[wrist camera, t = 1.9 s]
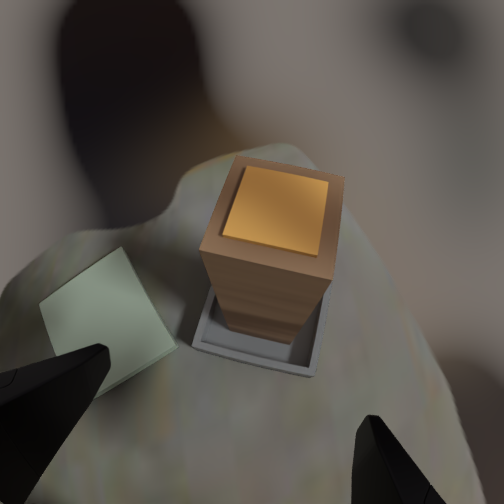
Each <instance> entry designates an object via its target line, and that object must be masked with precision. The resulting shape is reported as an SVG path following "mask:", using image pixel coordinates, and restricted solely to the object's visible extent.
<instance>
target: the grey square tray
mask: <svg viewBox="0 0 504 504" xmlns="http://www.w3.org/2000/svg"><path fill="white" fill-rule="evenodd" d="M333 275H334V274H333ZM332 281H333V280H332ZM331 288H332V282H331V284H330V285H329V287H328V288H327V290H326V291H325V293H324V295H323V296H322V298H321V299H320V301H319V302H318V304H317V305H316V307H315V308H314V310H313V311H312V313H311V314H310V316H309V317H308V319H307V320H306V322H305V323H304V325H303V326H302V328H301V329H300V331H299V332H298V334H297V335H296V337H295V338H294V339H293V341H292V342H291V344H290V345H287V344H282V343H278V342H273V341H269V340H265V339H261V338H256V337H252V336H248V335H244V334H240V333H236V332H232V331H230V330H229V328H228V325H227V323H226V320H225V318H224V315H223V312H222V310H221V307H220V305H219V302H218V300H217V297H216V294H215V292H214V289H213V287H212V284H211V286H210V289H209V292H208V295H207V298H206V302H205V305H204V308H203V311H202V314H201V317H200V320H199V324H198V327H197V330H196V333H195V336H194V339H193V343H192V347H193V348H195V349H196V350H198V351H201V352H204V353H208V354H211V355H215V356H218V357H222V358H226V359H229V360H233V361H237V362H241V363H245V364H249V365H253V366H257V367H261V368H265V369H270V370H274V371H279V372H283V373H288V374H293V375H298V376H303V377H308V378H310V377H314V376H315V372H316V368H317V363H318V358H319V354H320V349H321V344H322V339H323V333H324V328H325V323H326V317H327V312H328V306H329V300H330V294H331Z"/></svg>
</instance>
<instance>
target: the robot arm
mask: <svg viewBox="0 0 504 504" xmlns="http://www.w3.org/2000/svg"><path fill="white" fill-rule="evenodd" d="M110 368H111V358H110V351H109V348H108V347H107V346H105V345H103V344H101V343H96V344H93V345H90V346H87V347H84V348H81V349H78V350H75V351H72V352H68V353H65V354H62V355H59V356H56V357H53V358H49V359H46V360H43V361H40V362H37V363H33V364H30V365H27V366H23V367H20V368H18V369H13V370H10V371H6V372H2V373H0V501H1V502H2V503H3V504H24V503H25V501H26V499H27V498H28V496H29V495H30V493H31V491H32V490H33V488H34V487H35V485H36V484H37V482H38V481H39V479H40V477H41V476H42V474H43V473H44V471H45V469H46V468H47V466H48V465H49V463H50V462H51V460H52V459H53V457H54V456H55V454H56V453H57V451H58V450H59V448H60V447H61V445H62V444H63V443H64V441H65V440H66V438H67V437H68V435H69V434H70V432H71V431H72V429H73V428H74V427H75V425H76V424H77V422H78V421H79V419H80V418H81V416H82V415H83V414H84V412H85V411H86V409H87V408H88V407H89V405H90V404H91V402H92V401H93V399H94V397H95V396H96V394H97V392H98V390H99V388H100V387H101V385H102V383H103V381H104V379H105V377H106V376H107V374H108V372H109V370H110ZM351 504H446V503H445V501H444V500H443V499H442V498H441V497H440V495H439V494H438V493H437V492H436V490H435V489H434V488H433V486H432V485H430V482H429V481H428V480H427V478H426V477H425V476H424V474H423V473H422V472H421V470H420V469H419V468H418V466H417V465H416V464H415V463H414V461H413V460H412V459H411V457H410V456H409V455H408V453H407V452H406V451H405V449H404V448H403V447H402V445H401V444H400V443H399V441H398V440H397V439H396V437H395V436H394V435H393V433H392V432H391V431H390V429H389V428H388V427H387V425H386V424H385V423H384V421H383V420H382V419H381V418H380V417H379V416H377V415H367V416H366V417H365V419H364V420H363V422H362V423H361V425H360V426H359V428H358V430H357V432H356V438H355V448H354V458H353V466H352V494H351Z"/></svg>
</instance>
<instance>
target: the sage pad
mask: <svg viewBox="0 0 504 504" xmlns="http://www.w3.org/2000/svg"><path fill="white" fill-rule="evenodd" d="M39 306H40V310H41V313H42V316H43V320H44V323H45V326H46V329H47V332H48V335H49V338H50V341H51V343H52V346H53V349H54V352H55V354H56V356H59V355H62V354H65V353H68V352H72V351H75V350H78V349H81V348H84V347H87V346H90V345H93V344H96V343H101V344H103V345H105V346H107V347H108V348H109V351H110V358H111V368H110V370H109V372H108V374H107V376H106V377H105V379H104V381H103V383H102V385H101V387H100V388H99V390H98V392H97V394H96V396H95V397H94V399H95V398H97V397H99V396H100V395H102V394H104V393H105V392H107V391H109V390H110V389H112V388H114V387H115V386H117V385H119V384H120V383H122V382H124V381H125V380H127V379H129V378H130V377H132V376H134V375H135V374H137V373H138V372H140V371H142V370H143V369H145V368H147V367H148V366H150V365H151V364H153V363H155V362H156V361H158V360H159V359H161V358H163V357H164V356H166V355H167V354H169V353H170V352H172V351H174V350H175V349H177V348H178V347H179V346H178V344H177V343H176V341H175V339H174V338H173V336H172V335H171V333H170V331H169V330H168V328H167V326H166V325H165V323H164V321H163V320H162V318H161V316H160V314H159V313H158V311H157V309H156V308H155V306H154V304H153V302H152V301H151V299H150V297H149V295H148V293H147V292H146V290H145V288H144V286H143V284H142V282H141V281H140V279H139V277H138V275H137V273H136V271H135V269H134V267H133V265H132V263H131V262H130V260H129V258H128V256H127V254H126V252H125V250H124V249H123V248H122V247H119V248H118V249H116V250H115V251H113V252H112V253H110V254H109V255H107V256H106V257H104V258H103V259H101V260H100V261H98V262H97V263H95V264H94V265H92V266H91V267H89V268H88V269H87V270H85V271H84V272H82V273H81V274H79V275H78V276H76V277H75V278H74V279H72V280H71V281H69V282H68V283H67V284H65V285H64V286H62V287H61V288H60V289H58V290H57V291H55V292H54V293H53V294H51V295H50V296H49V297H47V298H46V299H45V300H43V301H42V302H41V303H39Z"/></svg>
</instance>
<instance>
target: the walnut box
mask: <svg viewBox="0 0 504 504" xmlns="http://www.w3.org/2000/svg"><path fill="white" fill-rule="evenodd" d="M344 179H345V177H342V176H338V175H333V174H329V173H325V172H321V171H316V170H312V169H307V168H302V167H297V166H292V165H288V164H282V163H277V162H272V161H267V160H261V159H255V158H249V157H243V156H237V155H236V157H235V159H234V162H233V164H232V166H231V169H230V171H229V174H228V176H227V179H226V181H225V184H224V186H223V189H222V191H221V194H220V196H219V199H218V201H217V204H216V206H215V209H214V211H213V214H212V216H211V219H210V222H209V224H208V227H207V229H206V232H205V235H204V237H203V240H202V243H201V245H200V248H199V252H200V254H201V257H202V260H203V263H204V265H205V268H206V271H207V273H208V276H209V279H210V281H211V284H212V287H213V289H214V292H215V294H216V297H217V300H218V302H219V305H220V307H221V310H222V312H223V315H224V318H225V320H226V323H227V325H228V328H229V330H230V331H232V332H236V333H240V334H244V335H248V336H252V337H256V338H261V339H265V340H269V341H273V342H278V343H282V344H287V345H290V344H291V342H292V341H293V339H294V338H295V337H296V335H297V334H298V332H299V331H300V329H301V328H302V326H303V325H304V323H305V322H306V320H307V319H308V317H309V316H310V314H311V313H312V311H313V310H314V308H315V307H316V305H317V304H318V302H319V301H320V299H321V298H322V296H323V295H324V293H325V291H326V290H327V288H328V287H329V285H330V284H331V282H332V280H333V274H334V268H335V261H336V253H337V246H338V238H339V229H340V221H341V211H342V202H343V190H344Z"/></svg>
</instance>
